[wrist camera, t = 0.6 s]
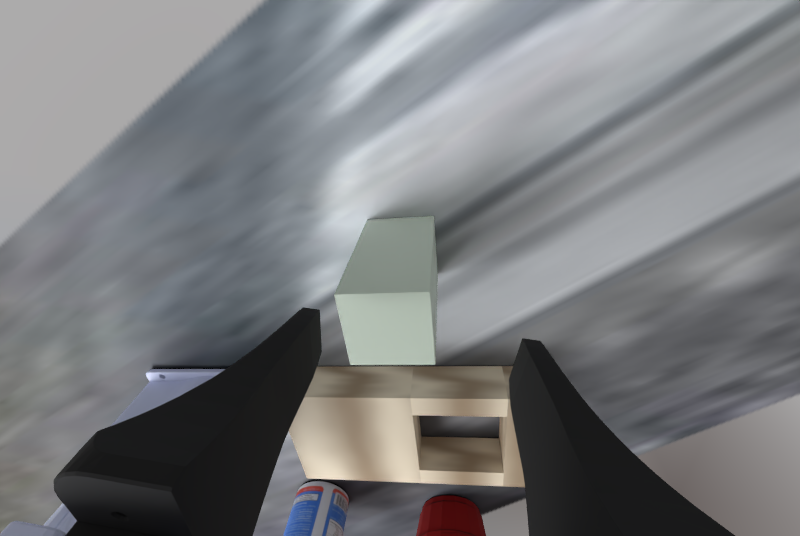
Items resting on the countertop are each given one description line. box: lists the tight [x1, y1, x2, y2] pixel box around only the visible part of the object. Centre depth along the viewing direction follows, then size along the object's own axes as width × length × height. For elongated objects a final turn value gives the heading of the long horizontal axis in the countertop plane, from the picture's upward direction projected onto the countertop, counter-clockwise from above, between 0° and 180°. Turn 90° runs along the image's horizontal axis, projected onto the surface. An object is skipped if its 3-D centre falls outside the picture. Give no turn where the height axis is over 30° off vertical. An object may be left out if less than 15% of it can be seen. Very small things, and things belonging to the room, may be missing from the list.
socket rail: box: [289, 366, 525, 487], centre depth 29 cm, size 18×10×3 cm, turn 96°
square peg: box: [334, 216, 438, 365], centre depth 20 cm, size 4×4×8 cm
